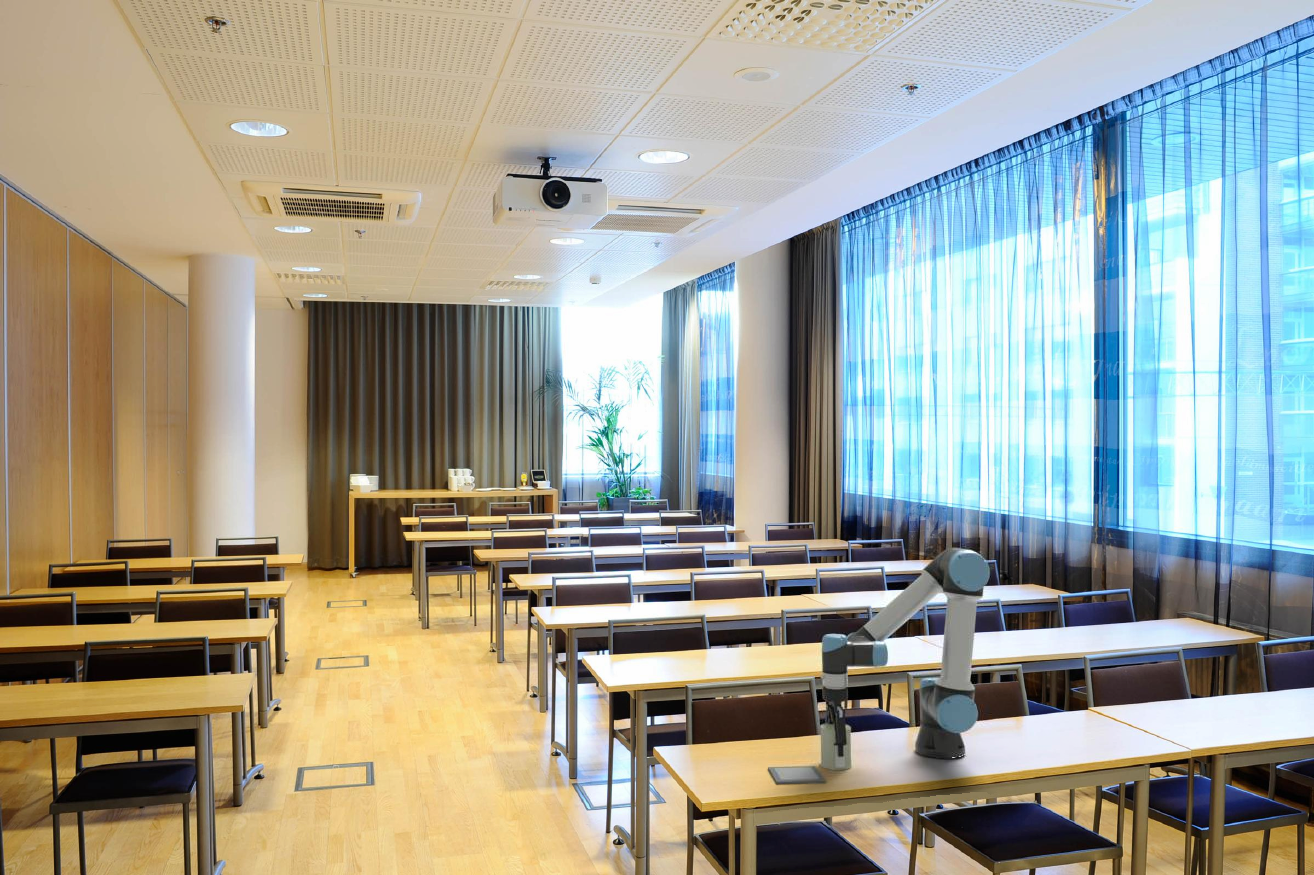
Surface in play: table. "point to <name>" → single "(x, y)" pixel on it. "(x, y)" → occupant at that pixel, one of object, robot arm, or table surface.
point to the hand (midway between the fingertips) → (836, 762)
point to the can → (833, 747)
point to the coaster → (796, 775)
